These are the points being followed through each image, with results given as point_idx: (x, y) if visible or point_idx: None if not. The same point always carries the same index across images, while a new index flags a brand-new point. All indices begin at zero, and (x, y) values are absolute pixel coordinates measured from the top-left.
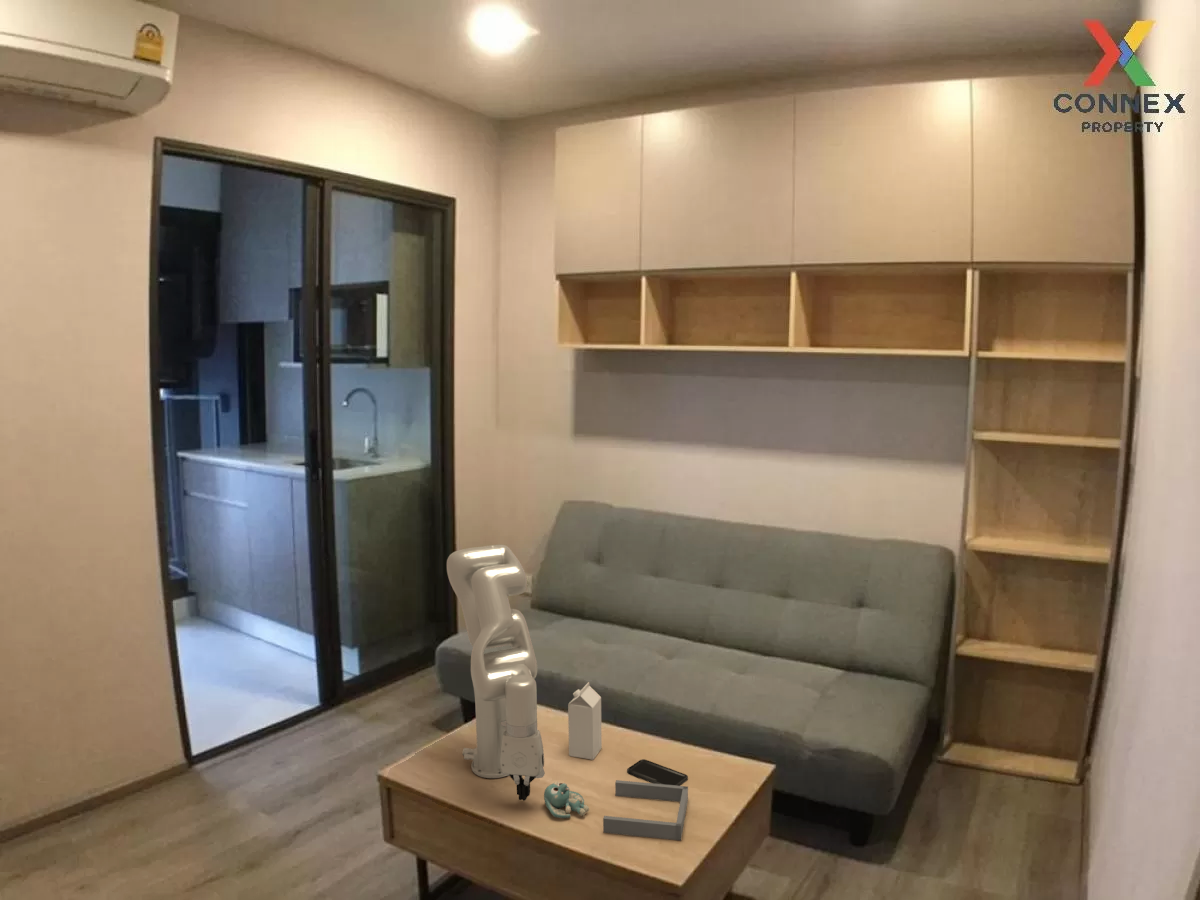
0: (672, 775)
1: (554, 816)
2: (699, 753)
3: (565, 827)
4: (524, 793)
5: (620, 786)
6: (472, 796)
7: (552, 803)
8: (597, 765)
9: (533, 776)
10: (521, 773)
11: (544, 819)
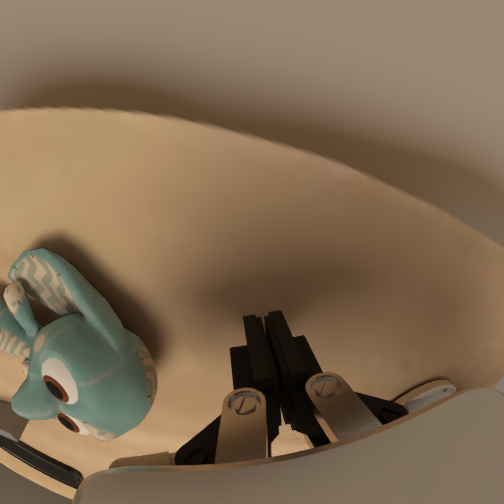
0: (13, 451)
1: (58, 255)
2: (44, 485)
3: (9, 206)
4: (248, 341)
5: (5, 423)
6: (455, 288)
7: (73, 317)
8: None
9: (185, 463)
10: (295, 476)
11: (98, 230)
